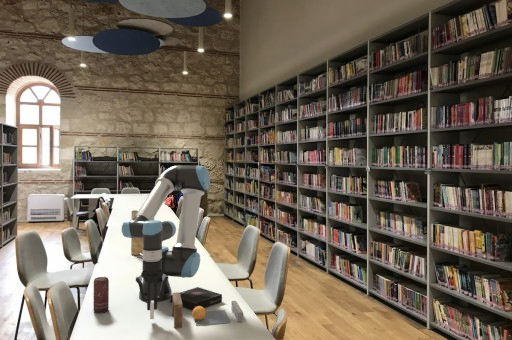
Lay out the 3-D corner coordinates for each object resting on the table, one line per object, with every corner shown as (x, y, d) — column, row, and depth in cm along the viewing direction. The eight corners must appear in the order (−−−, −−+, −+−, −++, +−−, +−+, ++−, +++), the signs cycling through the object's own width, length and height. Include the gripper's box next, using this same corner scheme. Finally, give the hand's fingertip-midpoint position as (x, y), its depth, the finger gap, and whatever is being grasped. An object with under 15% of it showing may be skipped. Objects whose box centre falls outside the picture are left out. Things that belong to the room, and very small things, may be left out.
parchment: (155, 259, 267) (156, 213, 266) (146, 261, 263) (147, 214, 262) (138, 253, 285) (138, 209, 284) (130, 254, 280) (130, 210, 279)
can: (110, 307, 182) (110, 276, 181) (105, 313, 176) (106, 280, 175) (96, 307, 182) (96, 276, 181) (91, 313, 175) (91, 280, 175)
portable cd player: (196, 294, 203) (196, 286, 203) (221, 303, 192) (222, 294, 192) (170, 303, 190) (170, 295, 190) (195, 313, 179) (195, 303, 179)
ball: (198, 301, 173) (208, 309, 174) (189, 311, 172) (199, 319, 173) (198, 306, 167) (208, 314, 168) (189, 317, 167) (200, 325, 168)
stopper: (231, 309, 182) (231, 300, 182) (235, 309, 182) (236, 300, 182) (238, 322, 168) (238, 312, 168) (242, 321, 169) (243, 312, 169)
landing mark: (192, 312, 178) (192, 312, 178) (224, 310, 181) (224, 309, 181) (196, 325, 164) (196, 325, 164) (230, 322, 168) (230, 322, 168)
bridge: (174, 328, 162) (174, 304, 161) (172, 314, 176) (172, 292, 175) (182, 327, 162) (182, 304, 162) (179, 313, 176) (179, 292, 176)
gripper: (135, 262, 160) (134, 322, 161) (169, 261, 164) (168, 319, 165) (135, 258, 168) (135, 315, 169) (168, 256, 171) (168, 312, 172)
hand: (151, 317), depth 167 cm, fingers closed
